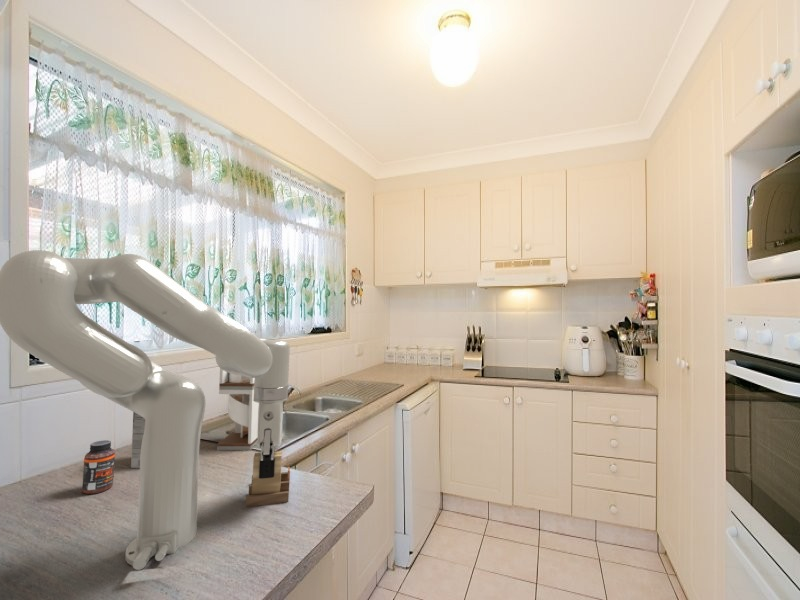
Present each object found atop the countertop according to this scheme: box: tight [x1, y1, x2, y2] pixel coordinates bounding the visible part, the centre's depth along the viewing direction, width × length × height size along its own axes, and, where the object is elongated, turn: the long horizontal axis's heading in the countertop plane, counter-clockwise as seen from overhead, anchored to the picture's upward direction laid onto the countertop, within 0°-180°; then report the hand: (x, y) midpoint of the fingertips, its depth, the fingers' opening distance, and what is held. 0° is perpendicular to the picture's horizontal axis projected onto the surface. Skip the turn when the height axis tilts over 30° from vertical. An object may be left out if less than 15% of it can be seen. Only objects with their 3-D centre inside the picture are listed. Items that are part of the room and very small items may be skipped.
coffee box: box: [130, 411, 145, 469], centre depth 107 cm, size 9×6×16 cm
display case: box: [216, 338, 267, 451], centre depth 123 cm, size 11×11×35 cm
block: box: [251, 450, 283, 494], centre depth 84 cm, size 3×6×8 cm, turn 105°
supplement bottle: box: [81, 439, 116, 495], centre depth 90 cm, size 6×6×11 cm
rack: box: [245, 466, 291, 508], centre depth 87 cm, size 11×9×6 cm
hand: (267, 473), depth 84 cm, fingers closed on block, 3 cm apart
